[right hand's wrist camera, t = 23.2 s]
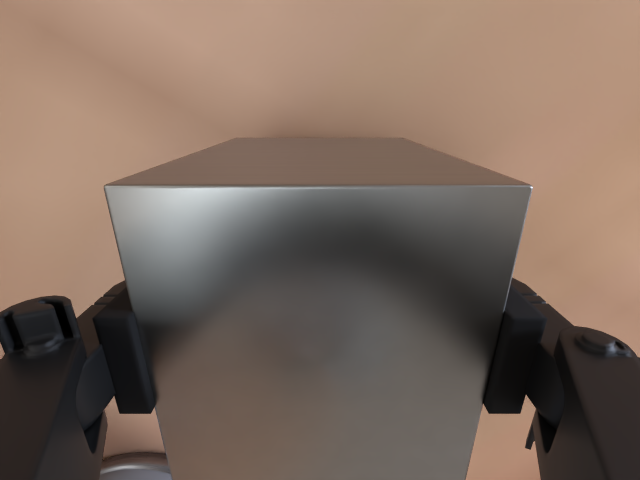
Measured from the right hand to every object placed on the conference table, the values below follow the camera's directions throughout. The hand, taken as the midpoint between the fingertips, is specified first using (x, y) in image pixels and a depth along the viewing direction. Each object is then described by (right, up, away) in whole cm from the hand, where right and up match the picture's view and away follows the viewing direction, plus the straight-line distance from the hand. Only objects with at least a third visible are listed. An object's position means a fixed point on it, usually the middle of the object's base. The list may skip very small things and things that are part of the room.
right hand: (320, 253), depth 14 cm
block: (0, +2, +4) cm, 5 cm away
